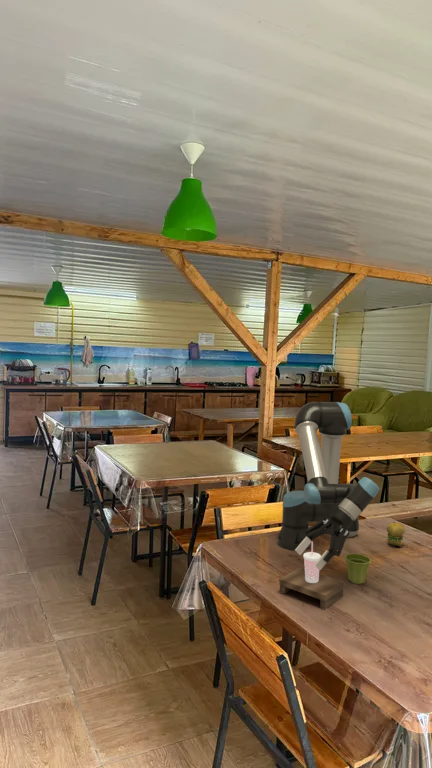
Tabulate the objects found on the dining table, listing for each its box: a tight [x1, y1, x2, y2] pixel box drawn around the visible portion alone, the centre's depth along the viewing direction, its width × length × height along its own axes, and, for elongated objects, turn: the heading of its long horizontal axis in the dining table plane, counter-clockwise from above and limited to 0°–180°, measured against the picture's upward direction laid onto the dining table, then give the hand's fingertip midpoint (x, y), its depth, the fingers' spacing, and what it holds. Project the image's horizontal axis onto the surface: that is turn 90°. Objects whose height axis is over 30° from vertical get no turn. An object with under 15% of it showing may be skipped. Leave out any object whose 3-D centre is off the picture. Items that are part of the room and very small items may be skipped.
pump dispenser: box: [346, 516, 360, 538], centre depth 243 cm, size 10×10×15 cm
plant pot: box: [344, 553, 372, 585], centre depth 194 cm, size 9×9×9 cm
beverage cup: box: [302, 540, 322, 583], centre depth 181 cm, size 6×6×14 cm
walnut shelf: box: [278, 566, 345, 610], centre depth 182 cm, size 18×14×5 cm
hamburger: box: [386, 520, 406, 547], centre depth 231 cm, size 8×7×12 cm
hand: (306, 559), depth 180 cm, fingers open, 13 cm apart
